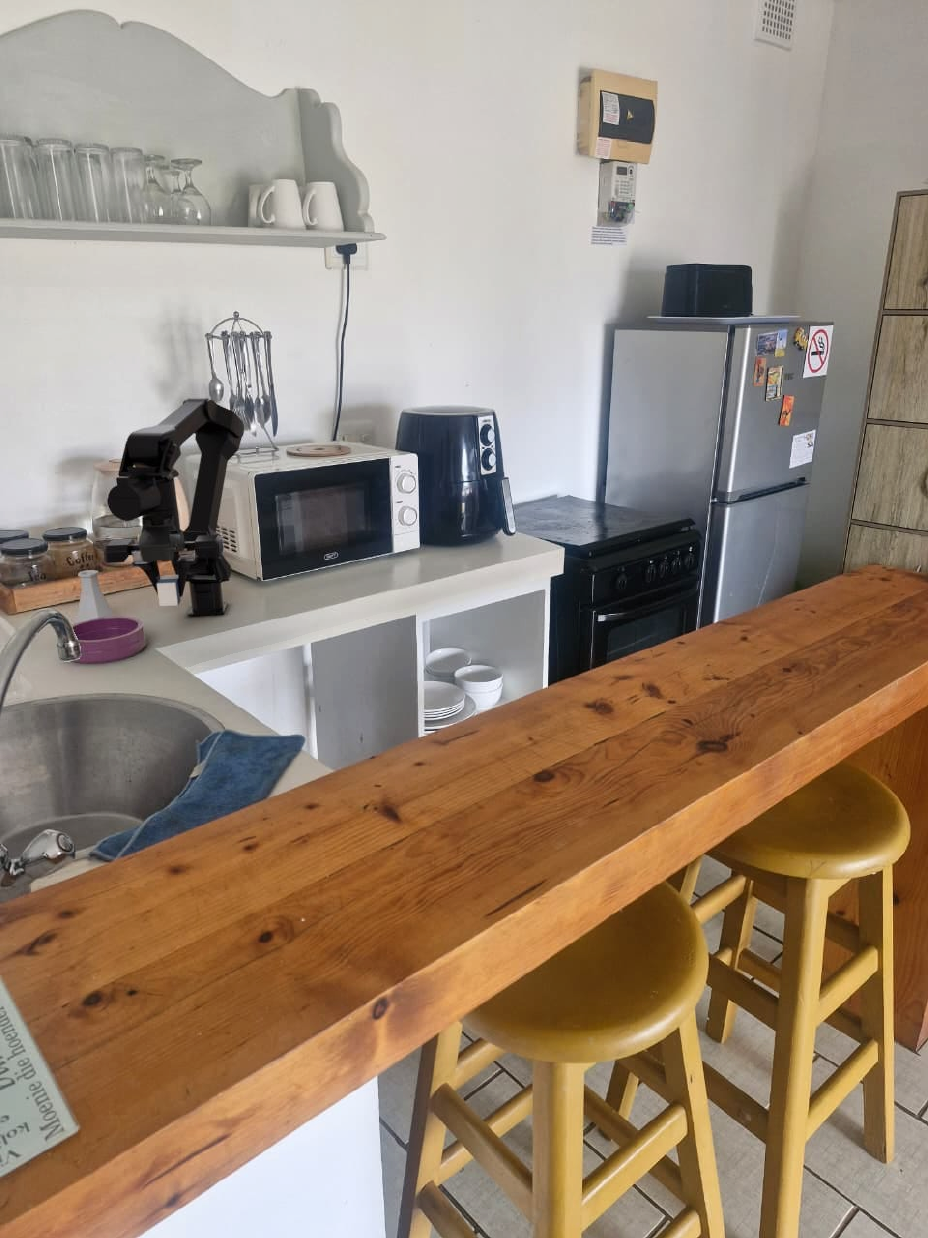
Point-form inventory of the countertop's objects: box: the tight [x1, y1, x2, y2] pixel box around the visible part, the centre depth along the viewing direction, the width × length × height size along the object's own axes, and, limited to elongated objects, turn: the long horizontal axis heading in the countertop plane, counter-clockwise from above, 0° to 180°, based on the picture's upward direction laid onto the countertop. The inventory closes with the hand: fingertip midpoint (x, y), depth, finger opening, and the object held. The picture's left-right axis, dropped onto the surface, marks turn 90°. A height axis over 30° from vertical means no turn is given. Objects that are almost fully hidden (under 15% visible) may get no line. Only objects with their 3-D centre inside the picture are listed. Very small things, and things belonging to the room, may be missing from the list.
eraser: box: [157, 574, 184, 607], centre depth 150 cm, size 6×3×4 cm, turn 8°
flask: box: [74, 569, 117, 624], centre depth 155 cm, size 7×7×10 cm
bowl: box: [72, 615, 147, 665], centre depth 144 cm, size 13×13×4 cm
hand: (171, 596), depth 150 cm, fingers closed on eraser, 3 cm apart
